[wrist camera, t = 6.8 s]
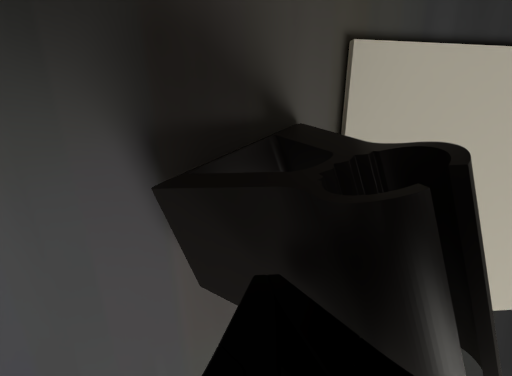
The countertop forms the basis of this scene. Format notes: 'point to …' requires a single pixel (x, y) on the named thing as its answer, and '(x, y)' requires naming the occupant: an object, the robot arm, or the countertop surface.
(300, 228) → the phone stand
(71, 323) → the countertop surface
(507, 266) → the mat
